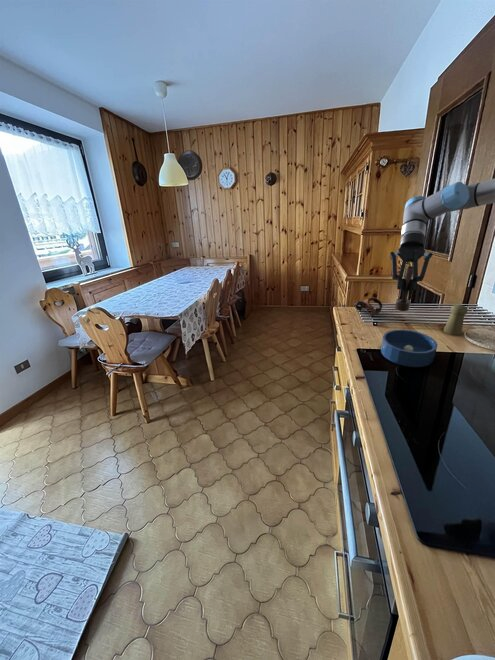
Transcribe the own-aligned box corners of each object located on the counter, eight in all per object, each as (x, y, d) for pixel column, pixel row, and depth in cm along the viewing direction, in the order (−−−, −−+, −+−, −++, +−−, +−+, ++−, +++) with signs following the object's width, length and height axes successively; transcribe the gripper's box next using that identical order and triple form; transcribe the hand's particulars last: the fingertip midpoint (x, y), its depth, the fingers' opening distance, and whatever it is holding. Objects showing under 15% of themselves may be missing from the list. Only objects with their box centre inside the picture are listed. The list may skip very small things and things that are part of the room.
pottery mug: (372, 308, 138) (381, 297, 132) (376, 323, 133) (386, 312, 126) (349, 304, 137) (357, 292, 130) (352, 319, 131) (361, 308, 125)
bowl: (442, 355, 98) (446, 341, 96) (418, 373, 90) (422, 358, 88) (396, 338, 111) (399, 325, 108) (371, 352, 102) (373, 339, 100)
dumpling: (412, 351, 100) (414, 344, 98) (411, 356, 98) (414, 350, 96) (403, 348, 101) (405, 342, 99) (401, 353, 99) (404, 347, 97)
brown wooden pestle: (411, 308, 100) (420, 266, 93) (405, 312, 98) (414, 270, 90) (398, 305, 103) (406, 264, 96) (392, 308, 101) (400, 267, 93)
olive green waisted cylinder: (461, 336, 109) (469, 310, 104) (442, 332, 112) (449, 307, 107) (462, 330, 113) (470, 304, 108) (444, 327, 116) (451, 302, 111)
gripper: (434, 244, 100) (428, 304, 95) (388, 243, 106) (379, 300, 101) (440, 231, 94) (434, 295, 88) (390, 231, 100) (381, 291, 94)
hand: (405, 298), depth 94 cm, fingers closed on brown wooden pestle, 2 cm apart
